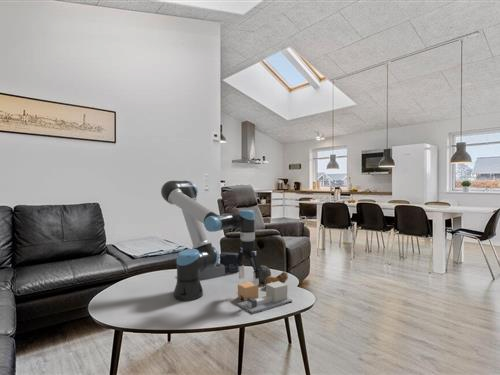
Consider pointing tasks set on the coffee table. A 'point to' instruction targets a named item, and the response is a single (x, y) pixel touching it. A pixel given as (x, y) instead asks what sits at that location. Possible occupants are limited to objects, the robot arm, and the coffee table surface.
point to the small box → (229, 261)
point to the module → (247, 290)
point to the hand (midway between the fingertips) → (248, 281)
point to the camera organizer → (212, 272)
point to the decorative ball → (264, 273)
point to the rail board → (263, 306)
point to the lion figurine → (276, 278)
